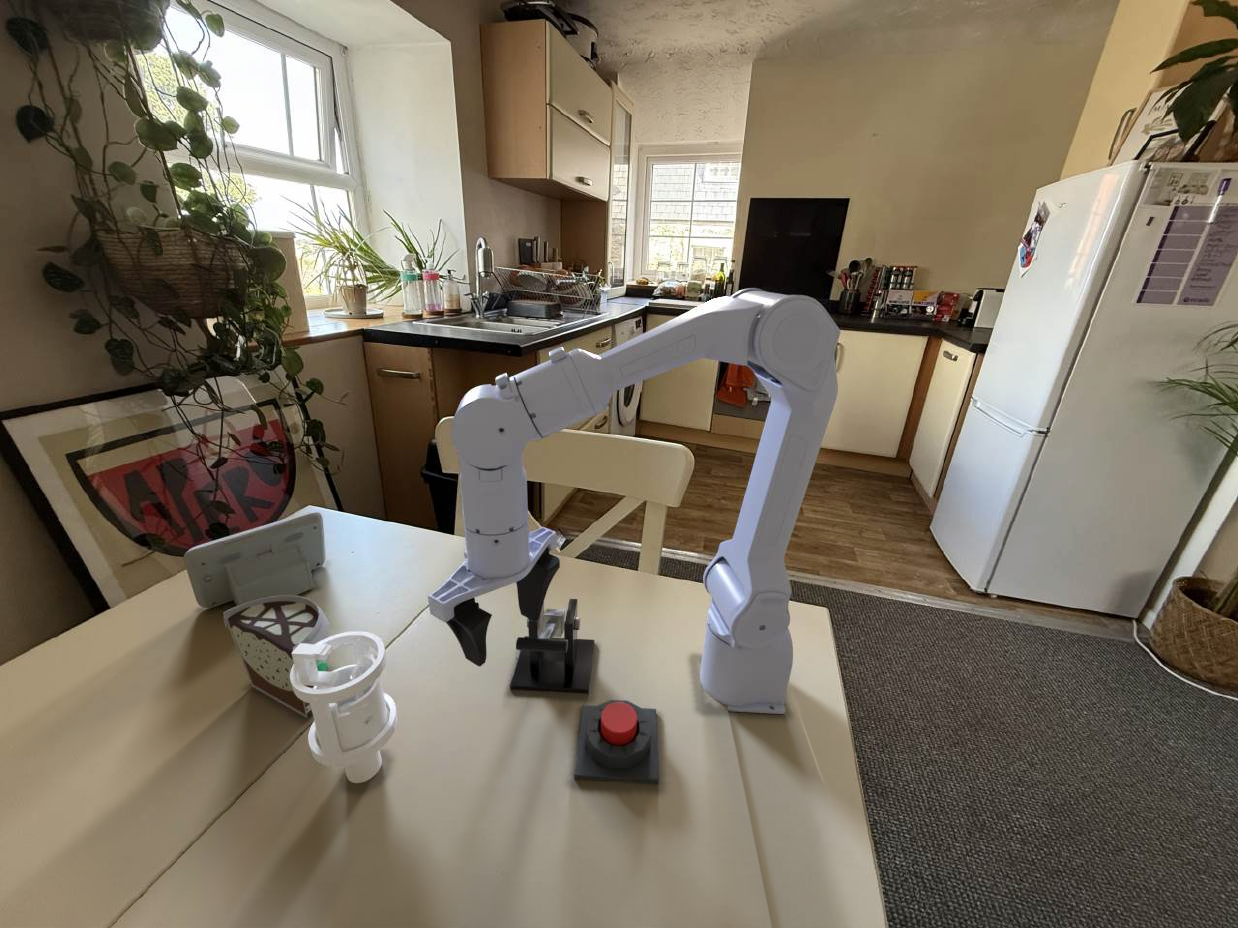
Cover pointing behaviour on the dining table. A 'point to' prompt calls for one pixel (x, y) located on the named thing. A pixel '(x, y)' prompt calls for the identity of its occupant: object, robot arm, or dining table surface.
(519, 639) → the switch
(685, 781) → the dining table surface
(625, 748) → the control block
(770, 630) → the robot arm
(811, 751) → the dining table surface
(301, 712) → the chocolate cake slice
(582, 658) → the switch bracket
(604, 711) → the button
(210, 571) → the digital clock
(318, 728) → the white plastic cylinder
